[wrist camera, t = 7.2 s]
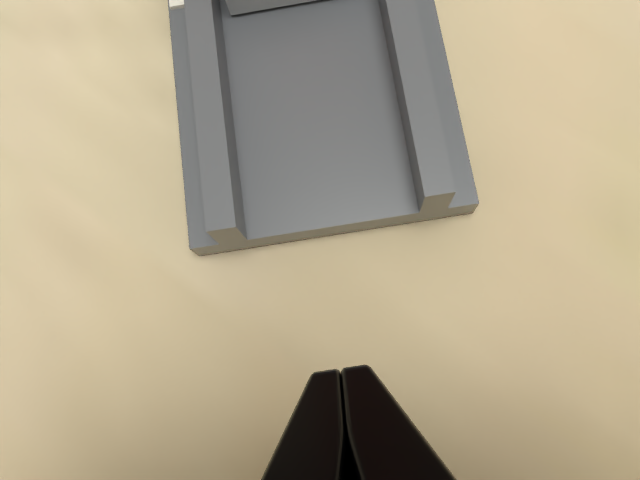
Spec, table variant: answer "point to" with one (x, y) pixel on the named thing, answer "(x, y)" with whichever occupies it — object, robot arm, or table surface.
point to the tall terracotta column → (258, 5)
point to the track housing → (314, 120)
